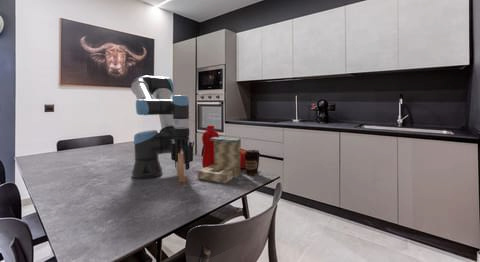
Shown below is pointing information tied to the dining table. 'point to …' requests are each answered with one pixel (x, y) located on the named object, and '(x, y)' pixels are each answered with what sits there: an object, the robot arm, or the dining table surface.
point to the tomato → (243, 158)
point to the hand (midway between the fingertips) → (182, 174)
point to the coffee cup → (252, 162)
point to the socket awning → (223, 160)
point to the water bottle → (208, 146)
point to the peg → (181, 168)
